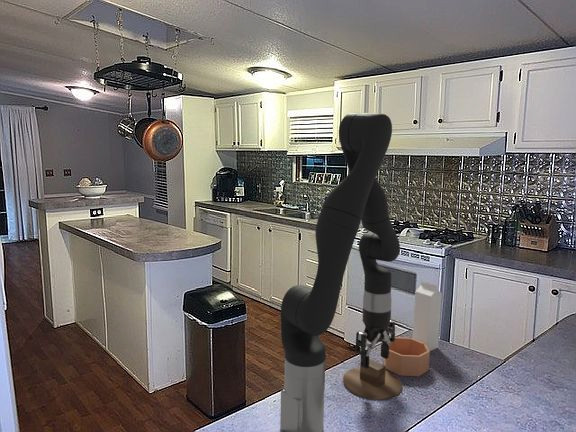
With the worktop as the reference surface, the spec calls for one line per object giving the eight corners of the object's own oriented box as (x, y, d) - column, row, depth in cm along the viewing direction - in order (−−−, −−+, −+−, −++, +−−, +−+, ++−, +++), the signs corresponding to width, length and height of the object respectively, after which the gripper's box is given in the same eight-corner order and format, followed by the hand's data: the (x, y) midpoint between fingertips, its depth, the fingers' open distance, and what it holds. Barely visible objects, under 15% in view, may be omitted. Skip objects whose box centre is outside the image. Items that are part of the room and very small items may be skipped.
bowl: (411, 380, 120) (412, 360, 120) (375, 363, 130) (376, 345, 129) (435, 366, 129) (436, 347, 128) (399, 351, 138) (400, 334, 137)
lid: (377, 408, 108) (378, 385, 107) (331, 381, 120) (331, 361, 119) (413, 386, 118) (414, 366, 117) (367, 364, 130) (368, 345, 129)
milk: (427, 352, 138) (431, 287, 134) (411, 345, 143) (415, 282, 139) (438, 347, 141) (442, 283, 138) (422, 341, 146) (426, 279, 143)
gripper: (371, 317, 108) (369, 376, 111) (404, 303, 117) (401, 359, 120) (348, 308, 114) (347, 365, 116) (382, 296, 123) (380, 349, 125)
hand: (375, 362), depth 118 cm, fingers open, 8 cm apart
